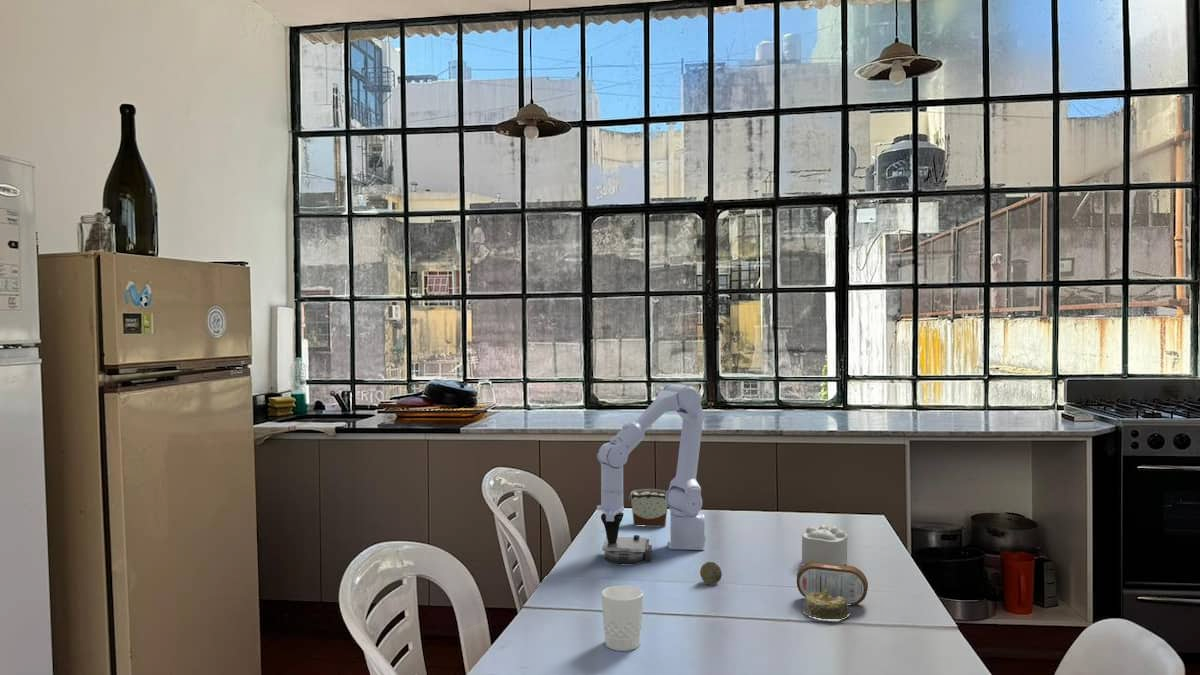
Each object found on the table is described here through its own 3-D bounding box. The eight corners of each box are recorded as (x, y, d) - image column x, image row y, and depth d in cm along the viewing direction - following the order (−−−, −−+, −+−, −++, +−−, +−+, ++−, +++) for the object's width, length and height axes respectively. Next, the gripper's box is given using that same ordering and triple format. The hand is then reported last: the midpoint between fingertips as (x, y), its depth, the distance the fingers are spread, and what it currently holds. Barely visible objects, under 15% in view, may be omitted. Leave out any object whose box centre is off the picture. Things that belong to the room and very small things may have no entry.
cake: (843, 629, 160) (842, 603, 159) (795, 620, 165) (794, 595, 165) (855, 609, 168) (854, 585, 168) (809, 601, 173) (808, 578, 173)
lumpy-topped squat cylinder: (797, 565, 198) (798, 531, 198) (812, 551, 209) (812, 519, 209) (839, 572, 193) (839, 537, 192) (852, 558, 204) (852, 524, 203)
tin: (867, 604, 171) (868, 566, 171) (867, 609, 168) (868, 570, 168) (796, 596, 176) (797, 559, 176) (795, 601, 173) (795, 563, 173)
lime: (723, 582, 185) (723, 561, 185) (711, 588, 182) (712, 566, 182) (708, 578, 188) (708, 557, 188) (696, 583, 185) (696, 562, 185)
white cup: (600, 636, 155) (600, 586, 154) (640, 634, 155) (640, 584, 155) (604, 653, 147) (603, 600, 146) (645, 652, 147) (645, 599, 147)
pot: (652, 549, 212) (652, 537, 211) (650, 569, 195) (650, 556, 195) (607, 547, 213) (607, 536, 213) (601, 567, 196) (601, 555, 196)
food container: (670, 521, 240) (670, 488, 239) (670, 526, 234) (670, 493, 233) (630, 520, 241) (630, 488, 241) (628, 525, 235) (628, 492, 235)
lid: (649, 540, 208) (649, 534, 208) (648, 552, 198) (648, 545, 198) (606, 539, 209) (606, 533, 209) (602, 550, 200) (602, 544, 199)
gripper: (599, 483, 211) (599, 533, 212) (593, 496, 197) (594, 549, 197) (625, 484, 211) (625, 534, 211) (621, 496, 196) (622, 550, 197)
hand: (612, 541), depth 204 cm, fingers closed
